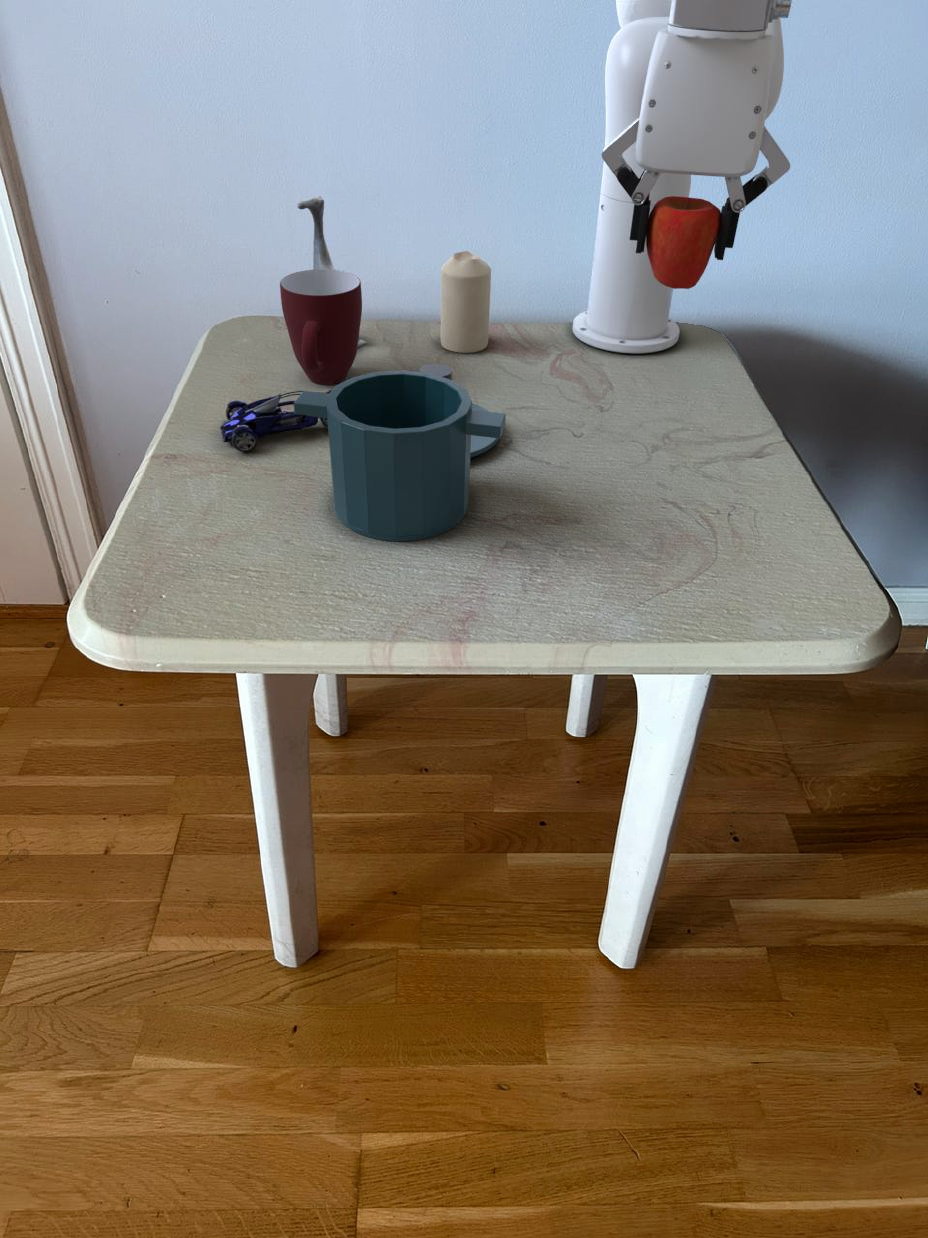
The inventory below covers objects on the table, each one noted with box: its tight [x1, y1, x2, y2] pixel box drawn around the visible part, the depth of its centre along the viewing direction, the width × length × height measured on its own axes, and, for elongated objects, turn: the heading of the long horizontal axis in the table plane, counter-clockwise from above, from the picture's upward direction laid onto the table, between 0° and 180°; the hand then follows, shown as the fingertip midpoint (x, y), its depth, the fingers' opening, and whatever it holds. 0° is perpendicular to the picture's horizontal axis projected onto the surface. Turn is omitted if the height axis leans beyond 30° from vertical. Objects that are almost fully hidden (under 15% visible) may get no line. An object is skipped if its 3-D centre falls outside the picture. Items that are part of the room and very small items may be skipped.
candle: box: [440, 250, 492, 354], centre depth 100 cm, size 6×6×10 cm
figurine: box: [296, 196, 366, 349], centre depth 98 cm, size 11×6×15 cm, turn 14°
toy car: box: [219, 389, 332, 453], centre depth 84 cm, size 12×6×4 cm, turn 107°
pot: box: [293, 370, 507, 542], centre depth 73 cm, size 11×17×10 cm
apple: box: [646, 196, 721, 290], centre depth 80 cm, size 6×6×8 cm
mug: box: [279, 269, 363, 385], centre depth 91 cm, size 11×8×10 cm
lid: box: [418, 363, 500, 459], centre depth 83 cm, size 12×12×7 cm
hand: (679, 250), depth 80 cm, fingers closed on apple, 6 cm apart
